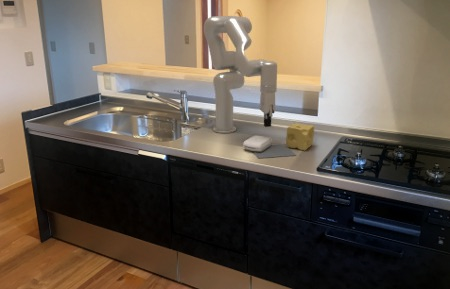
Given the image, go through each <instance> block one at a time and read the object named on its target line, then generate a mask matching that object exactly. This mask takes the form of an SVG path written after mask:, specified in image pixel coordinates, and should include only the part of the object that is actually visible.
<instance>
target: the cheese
mask: <svg viewBox="0 0 450 289" xmlns="http://www.w3.org/2000/svg"><path fill="white" fill-rule="evenodd" d="M314 135H315V126H314V125H312V124H310V125H309V124H301V123H296V122H293V124H291V125H290V126H288V127H287V129H286V137H285V138H286V139H285V145H286V147H288V148H290V149H291V148H292V149H298V150H301V151H307V149H309V148H310V147H311V146H312V145H313V141H314Z"/></svg>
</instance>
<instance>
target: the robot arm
mask: <svg viewBox="0 0 450 289" xmlns="http://www.w3.org/2000/svg"><path fill="white" fill-rule="evenodd" d="M252 29H253V25H252V22H251V20H250V18H247V17H246V16H237V15H236V16H234V15H218V16H217V15H215V16H210V17H207V19H206V20H205V21H204V24H203V34H204V38H205V40H206V42H207V43H206V44H207V46H208V50H209V55H210V59H211V64H212V67H213V69H214V70H216V71H223V72H219V73H217V74H216V75H215V76H214V77H213V82H212V83H213V87H214V95H215V97H214V98H215V126H214V127H212V131H213V132H214V133H218V134H230V133H233V132H234V133H235V132H236V130H237V128H236V126H234V96H233V95H232V92H231V91H232V90H237V89H241V88H242V87H243V86H244V84H245V78H251V77H253V78H254V77H260V86H259V87H260V89H259V90H260V91H259V92H260V98H259V99H260V100H259V110H260V111H261V112H262V113H263V127H265V128H269V127H270V128H271V127H272V117H274V116H273V114H275V112H276V93H277V86H278V85H277V84H278V82H277V81H278V63H277V62H275V61H271V60H270V61H268V60H266V59H261V58H260V59H251V60H249V59H248V58H247V56H246V54H245V51H246V50H248V48H249V47H250V46H251V45H252V43H253V42H252V39H251V37H250V35H249V34H250V33H252V32H251V31H252ZM219 34H227V36H228V37H229V39H230V41H231V42H232V43H231V44H233V46H234V48H235V50H227V48H226V45H225V41H224V40H223V38H222V37H221V36H220V35H219ZM224 70H229V71H224Z"/></svg>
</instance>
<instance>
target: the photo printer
mask: <svg viewBox="0 0 450 289" xmlns="http://www.w3.org/2000/svg"><path fill="white" fill-rule="evenodd" d="M271 145H273V139H272V138H271V137H268V136H262V135H257V134H256V135H255V134H254V135H253V136H251V137H249V138H248V139H246V140H244V142H242V148H243V149H245V150H247V151H251V152H253V151H256V152H261V151H263V150H265V149H266V148H268V147H269V146H271Z"/></svg>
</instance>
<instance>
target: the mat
mask: <svg viewBox="0 0 450 289" xmlns="http://www.w3.org/2000/svg"><path fill="white" fill-rule="evenodd" d="M252 153H253V154H254V156H255V157H256V158H257V159H258V160H259V159H270V158H271V159H272V158H273V159H274V158H286V157H296V156H297V154H296V153H295V152H294V151H292V150H291V148H290V147H286V143H281V144H279V143H278V144H271V146H269V147H268V148H266V149H265V150H263V151H261V152H256V151H252Z"/></svg>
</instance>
